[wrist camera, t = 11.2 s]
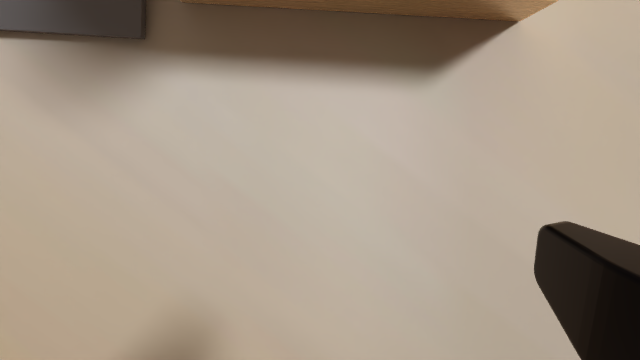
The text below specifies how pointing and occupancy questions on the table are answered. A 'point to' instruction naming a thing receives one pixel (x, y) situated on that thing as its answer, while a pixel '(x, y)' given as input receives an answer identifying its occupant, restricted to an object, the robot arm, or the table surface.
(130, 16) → the stand pad
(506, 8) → the open tan box
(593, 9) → the table surface
